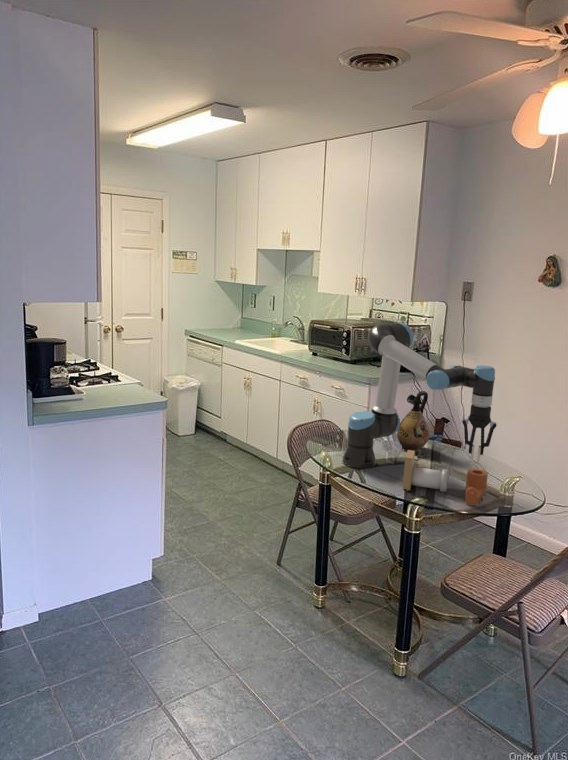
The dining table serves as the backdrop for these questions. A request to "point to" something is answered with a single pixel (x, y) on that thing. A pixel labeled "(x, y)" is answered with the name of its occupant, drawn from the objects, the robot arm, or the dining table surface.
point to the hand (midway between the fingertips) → (474, 461)
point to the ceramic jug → (414, 425)
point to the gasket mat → (457, 492)
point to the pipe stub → (423, 475)
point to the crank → (475, 485)
